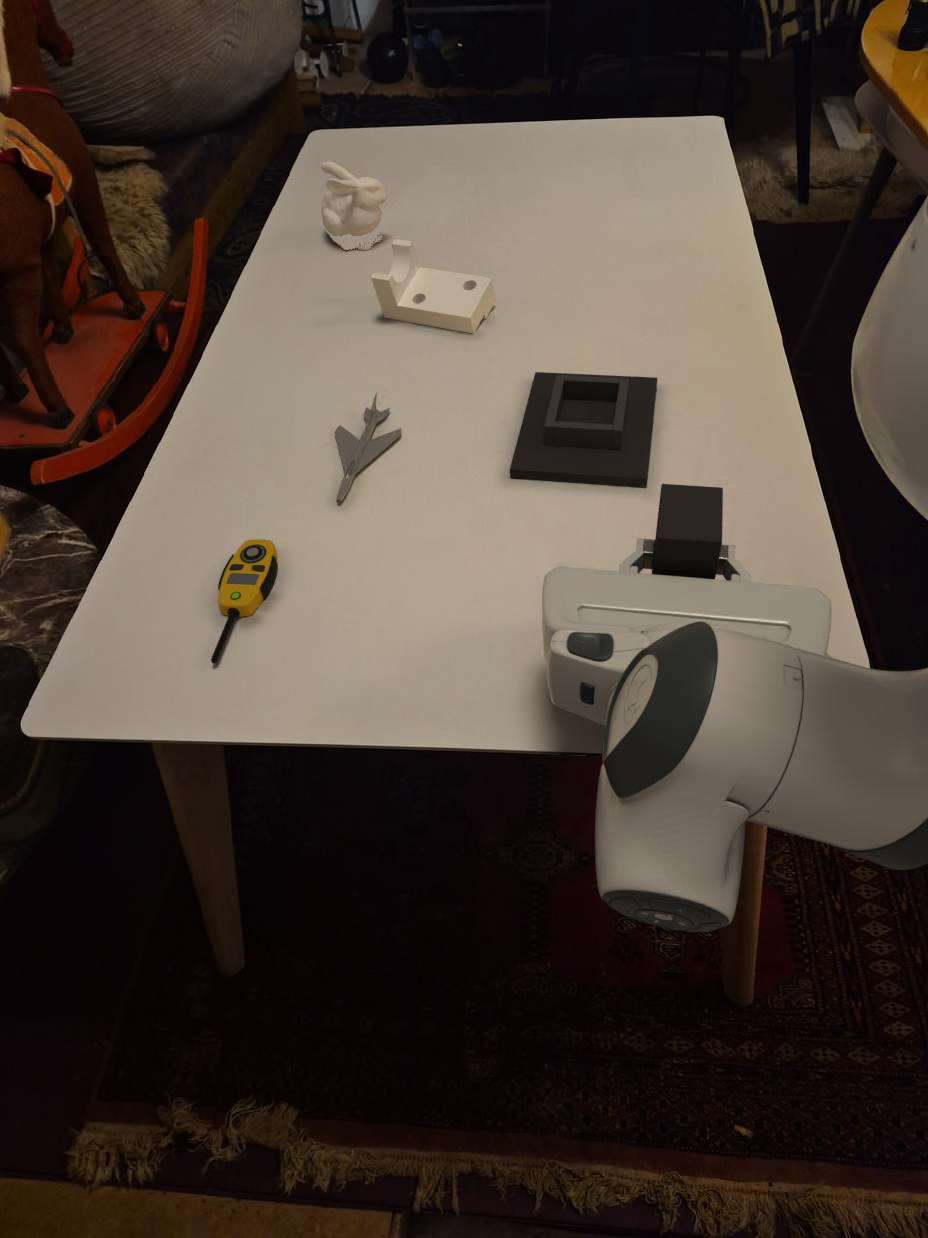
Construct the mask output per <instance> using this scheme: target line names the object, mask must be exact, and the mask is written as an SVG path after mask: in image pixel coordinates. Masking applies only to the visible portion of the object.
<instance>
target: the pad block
mask: <svg viewBox="0 0 928 1238" xmlns="http://www.w3.org/2000/svg"><path fill="white" fill-rule="evenodd" d="M659 493H660V494H659V500H658V501H659V503H658V512H657V519H656V520H657V521H656V528H655V537H654V540H656V543H655V554H654V563H653V569H651V573H650V574H656V575H668V576H680V577H692V578H704V579H716V578H717V577H716V572H717V567H718V562H719V556H720V551H721V546H722V545H723V519H724V518H723V515H724V513H723V511H724V510H723V507H724V506H723V505H724V488H723V487H718V486H704V485H703V486H702V485H689V484H686V485H685V484H671V483H661V485H660V492H659Z"/></svg>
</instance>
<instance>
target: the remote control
mask: <svg viewBox="0 0 928 1238" xmlns="http://www.w3.org/2000/svg"><path fill="white" fill-rule="evenodd" d="M277 552H278V551H277V549H276V545H275V544H274V542H273V541H272V540H269V539H261V538H253V539H247V540H245V541H244V542H242V544H240V546H239V548H238V549H237V550H236V552H235V553H232V554H231V556H230V557H229V559H228V560H227V562H226V564H225V565H224V567H223V570H222V572H221V574H220V577H219V581H218V584H217V585H218V586H217V590H218V597H217V603H218V606H219V608H220V611H221V613H222V614H223V615H225V616H228V617H227V620H226V622H225V624H224V626H223V629H222V632H221V634H220V636H219V639H218V641H217V644H216V646H215V648H214V651H213V653H212V655H211V657H210V662H211V663H212V664H216V663H218V661H219V658H220V656H221V653H222V651H223V648H224V646H225V643H226V641H227V638H228V636H229V633H230V632H231V629H232V626H233V624H234V622H235V620H236V619H238V618H240V617H241V618H242V617H249V616H252V615H253V614H254V613H255V612H256V611H257V609H258V608H259V607H260V605H261V603H262V602H263V601H265V600H266V599H267V597H268V596H269V594H270V592H271V590H272V588H273V587H274V584H275V581H276V578H277V575H278V567H279V565H278V564H279V563H278V553H277Z"/></svg>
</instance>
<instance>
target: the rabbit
mask: <svg viewBox="0 0 928 1238" xmlns="http://www.w3.org/2000/svg"><path fill="white" fill-rule="evenodd" d="M320 168H321V170H322V172H323V173H325V174H328V175H330V176H333V177H335V178H327V179H326V180H325V186H326V188H327V190H326V191H325V193H324V194H323V197H322V200H321V209H320V213H321V217H322V223H323V224H322V225H323V226H324V229H325V228H326V230H327V231H328V232H329V233H330V234H332V235H333V236H343V235H346V234H351V235H352V236H362V235H365V234H368V233H371V232H372V231H374V230H375V229H376V228H377V227H378V226H379V225H380V223H381V221H382V209H381V207H380V204H384V203H385V202H386V201H387V198H388V197H387V189H386V187H385V186H384V184H383V183H382V182H381V181H379V180H378V179H376V178H374V177H372V176H361V177H359V178H358V177H355V176H354V175H352V173H351V172H349V171H348V170H346V169H345V168H343V167H342V166H340V164H337V163H335V162H334V161H330V160H329V161H328V160H327V161H325V162H324V163H322V164H321V167H320ZM379 233H380V234H379V235H377V238H378V237H379V236H382V238H383V235H382V233H381V232H379ZM382 238H381V237H380V240H377V241H378V243H381V242H382V241H381V239H382ZM383 239H384V238H383ZM383 239H382V240H383ZM370 240H371V239H370ZM375 241H376V238H375ZM375 241H373V244H372V243H371V246H372V247H371V246H369V245H367V244H366V245H367V247H365V243H364V242H363V243H364V246H363V245H362V248H361V244H360V243H359V246H360V247H359V246H357V247H358V249H357V248H356V249H355V250H359V251H368V250H371V249H373V248H374V247H373V246H374V245H375V244H378V243H377V242H375ZM374 242H375V243H374ZM368 244H369V242H368ZM349 251H353V250H352V249H351V250H349ZM349 251H348V252H349Z"/></svg>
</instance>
